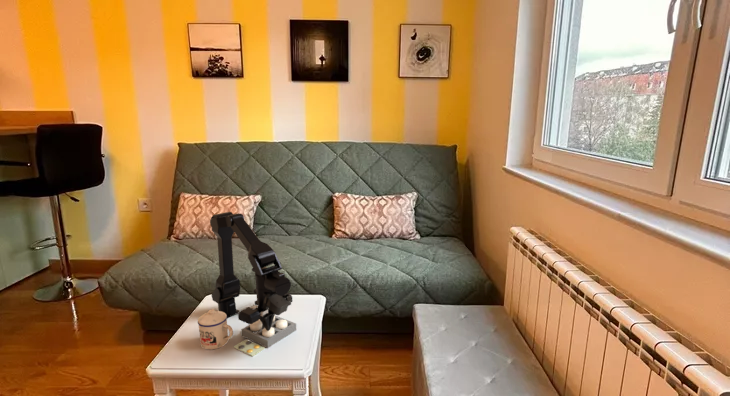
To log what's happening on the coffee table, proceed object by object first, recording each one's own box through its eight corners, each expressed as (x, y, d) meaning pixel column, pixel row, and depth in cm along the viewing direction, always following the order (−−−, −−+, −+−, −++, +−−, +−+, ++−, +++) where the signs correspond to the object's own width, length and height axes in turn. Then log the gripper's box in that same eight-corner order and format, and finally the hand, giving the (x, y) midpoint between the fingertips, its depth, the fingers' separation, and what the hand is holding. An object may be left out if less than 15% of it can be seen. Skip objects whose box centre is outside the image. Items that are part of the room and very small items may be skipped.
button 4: (273, 330, 139) (272, 323, 139) (281, 325, 143) (281, 318, 142) (281, 333, 137) (281, 326, 137) (290, 328, 140) (289, 321, 140)
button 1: (247, 329, 138) (247, 322, 137) (256, 324, 141) (256, 318, 140) (255, 333, 135) (255, 326, 135) (264, 328, 139) (264, 321, 138)
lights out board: (227, 344, 133) (226, 337, 132) (270, 319, 148) (270, 313, 148) (253, 357, 126) (253, 349, 125) (296, 329, 141) (296, 323, 140)
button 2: (260, 338, 134) (259, 331, 134) (269, 332, 138) (268, 325, 137) (268, 341, 132) (267, 334, 132) (277, 336, 135) (276, 329, 135)
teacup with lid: (193, 347, 131) (190, 314, 129) (212, 333, 140) (209, 302, 137) (224, 354, 127) (221, 320, 125) (242, 339, 136) (239, 307, 133)
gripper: (259, 303, 119) (263, 351, 122) (303, 281, 134) (305, 324, 137) (235, 294, 125) (239, 340, 129) (279, 274, 140) (282, 315, 144)
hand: (268, 330), depth 134 cm, fingers closed
